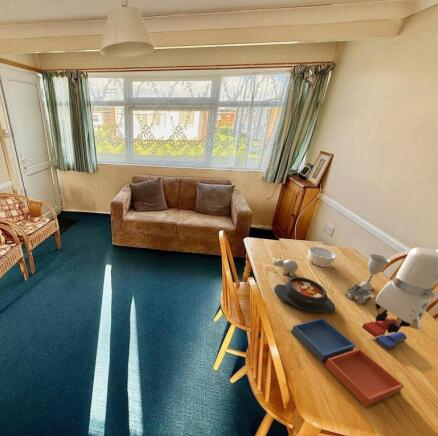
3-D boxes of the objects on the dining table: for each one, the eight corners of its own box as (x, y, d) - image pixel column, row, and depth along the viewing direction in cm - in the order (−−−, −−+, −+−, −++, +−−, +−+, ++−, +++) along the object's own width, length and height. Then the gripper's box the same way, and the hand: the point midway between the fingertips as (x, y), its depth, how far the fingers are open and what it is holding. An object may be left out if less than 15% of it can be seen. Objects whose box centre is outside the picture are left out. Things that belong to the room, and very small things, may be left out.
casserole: (274, 305, 107) (279, 292, 104) (272, 281, 123) (276, 269, 119) (339, 323, 98) (346, 309, 95) (327, 295, 114) (333, 282, 110)
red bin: (399, 392, 74) (404, 385, 72) (365, 406, 70) (369, 399, 69) (355, 354, 85) (359, 348, 84) (324, 365, 82) (327, 358, 80)
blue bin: (352, 351, 87) (355, 345, 85) (321, 361, 83) (324, 355, 81) (319, 323, 98) (322, 317, 97) (291, 331, 94) (293, 325, 93)
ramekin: (309, 253, 148) (312, 244, 146) (334, 262, 140) (338, 252, 137) (303, 261, 140) (306, 252, 137) (328, 271, 131) (333, 261, 129)
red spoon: (385, 321, 81) (388, 314, 80) (398, 330, 78) (402, 324, 77) (361, 327, 79) (365, 321, 78) (374, 337, 75) (378, 331, 74)
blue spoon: (394, 334, 94) (397, 328, 92) (406, 342, 90) (409, 337, 89) (374, 340, 91) (377, 335, 90) (386, 349, 87) (389, 344, 86)
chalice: (359, 289, 118) (374, 260, 111) (354, 281, 124) (367, 253, 116) (377, 292, 116) (393, 263, 108) (371, 284, 121) (385, 256, 114)
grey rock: (362, 305, 108) (365, 299, 106) (343, 295, 114) (346, 289, 112) (371, 297, 113) (374, 290, 111) (352, 288, 119) (355, 282, 117)
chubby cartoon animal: (273, 264, 137) (276, 252, 134) (296, 272, 130) (300, 260, 127) (270, 270, 132) (273, 258, 129) (294, 278, 125) (298, 266, 122)
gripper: (456, 302, 65) (423, 346, 72) (388, 268, 79) (367, 307, 87) (438, 307, 63) (406, 351, 71) (372, 271, 78) (352, 311, 85)
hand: (385, 326), depth 79 cm, fingers closed on red spoon, 3 cm apart
